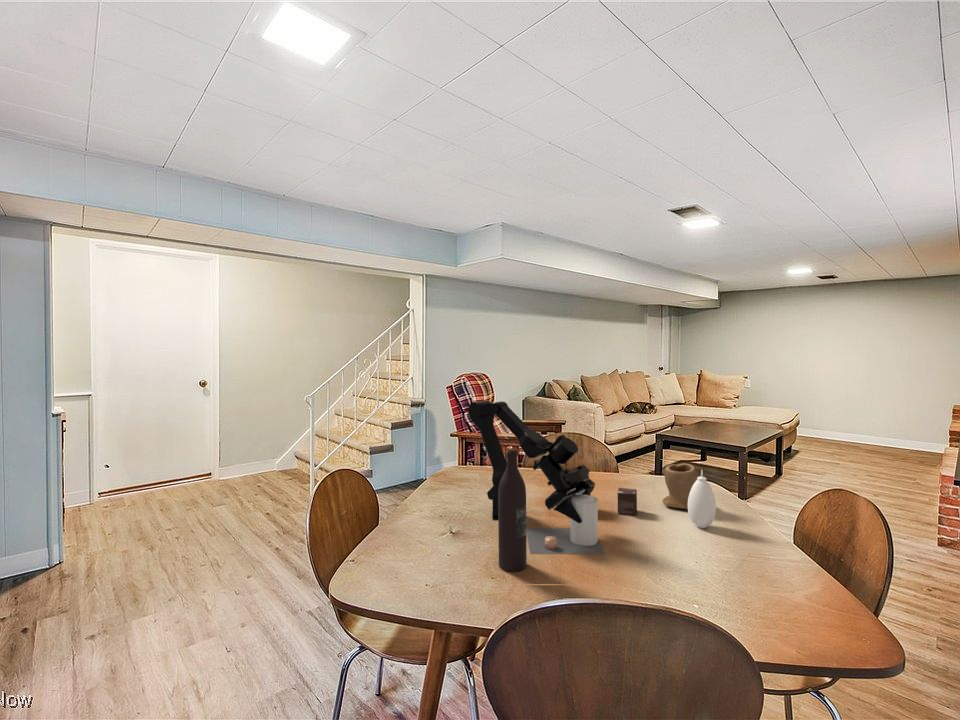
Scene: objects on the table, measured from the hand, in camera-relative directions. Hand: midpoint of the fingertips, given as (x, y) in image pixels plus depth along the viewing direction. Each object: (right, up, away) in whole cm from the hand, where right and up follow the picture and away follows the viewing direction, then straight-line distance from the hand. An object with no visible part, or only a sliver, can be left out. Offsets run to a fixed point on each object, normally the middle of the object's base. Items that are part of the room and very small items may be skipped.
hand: (588, 518), depth 136 cm
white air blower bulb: (+37, -6, +11) cm, 39 cm away
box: (+19, -6, +25) cm, 32 cm away
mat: (-7, -7, +1) cm, 10 cm away
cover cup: (-1, -7, +1) cm, 7 cm away
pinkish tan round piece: (-11, -7, -3) cm, 14 cm away
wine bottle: (-22, -8, -14) cm, 28 cm away
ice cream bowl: (+3, -6, +27) cm, 28 cm away
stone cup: (+40, -6, +28) cm, 49 cm away
